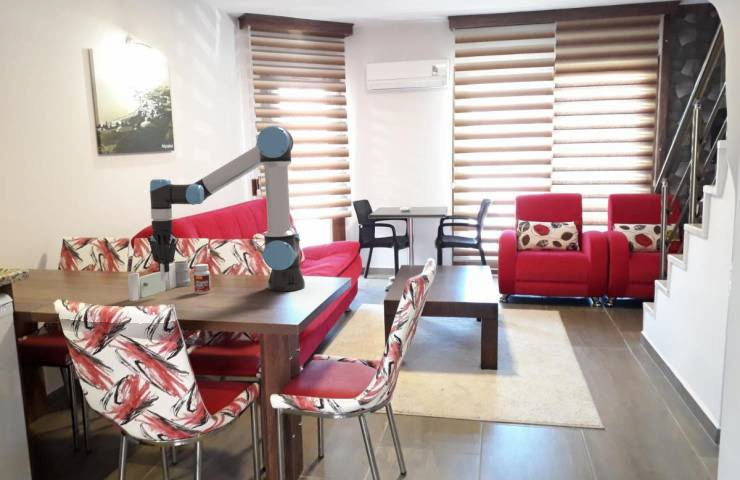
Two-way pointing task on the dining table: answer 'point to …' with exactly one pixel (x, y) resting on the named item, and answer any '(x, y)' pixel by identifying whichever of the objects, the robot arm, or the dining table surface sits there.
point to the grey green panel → (151, 284)
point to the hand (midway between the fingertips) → (164, 280)
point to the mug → (182, 273)
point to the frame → (135, 284)
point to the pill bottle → (202, 279)
